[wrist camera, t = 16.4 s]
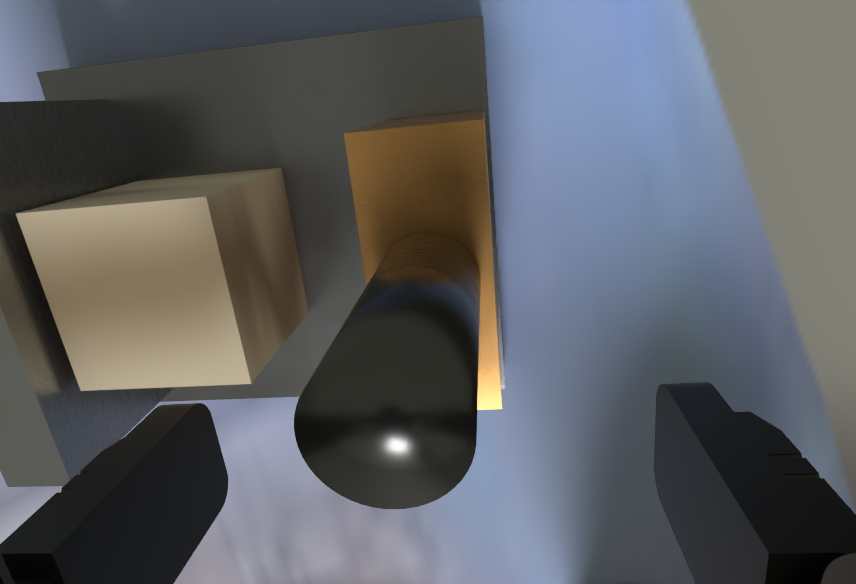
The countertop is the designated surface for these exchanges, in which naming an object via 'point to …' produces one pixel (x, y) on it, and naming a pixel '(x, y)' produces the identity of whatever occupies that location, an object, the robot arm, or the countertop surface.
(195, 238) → the block
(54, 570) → the robot arm
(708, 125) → the countertop surface
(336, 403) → the press ram
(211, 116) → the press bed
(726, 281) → the countertop surface
